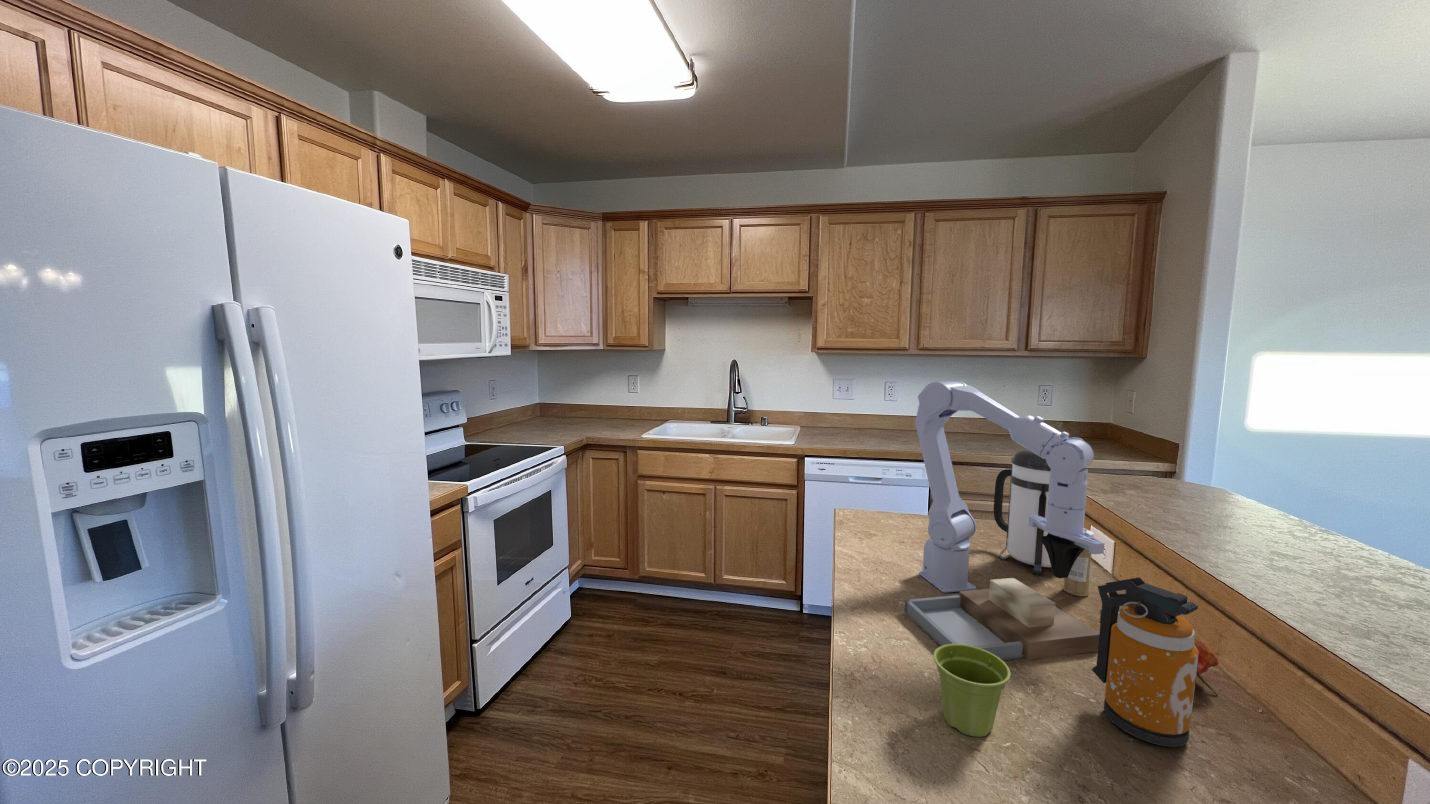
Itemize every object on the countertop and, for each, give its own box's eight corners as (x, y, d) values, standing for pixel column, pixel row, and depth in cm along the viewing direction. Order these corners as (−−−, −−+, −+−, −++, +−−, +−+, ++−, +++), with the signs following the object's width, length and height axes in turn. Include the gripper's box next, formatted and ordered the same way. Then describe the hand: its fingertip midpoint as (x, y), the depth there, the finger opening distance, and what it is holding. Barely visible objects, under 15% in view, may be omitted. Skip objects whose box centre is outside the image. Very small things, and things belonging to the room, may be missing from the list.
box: (904, 612, 101) (905, 599, 101) (957, 607, 103) (958, 595, 103) (960, 665, 85) (960, 650, 84) (1021, 657, 87) (1022, 643, 86)
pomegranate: (1215, 695, 81) (1159, 632, 87) (1254, 679, 76) (1191, 614, 82) (1182, 710, 79) (1127, 645, 85) (1220, 695, 74) (1159, 626, 80)
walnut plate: (958, 605, 104) (959, 591, 103) (1020, 599, 106) (1021, 585, 106) (1027, 659, 86) (1028, 642, 86) (1099, 650, 89) (1101, 634, 88)
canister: (1168, 761, 65) (1185, 610, 63) (1074, 706, 75) (1085, 574, 73) (1201, 736, 69) (1218, 593, 67) (1107, 687, 79) (1119, 561, 77)
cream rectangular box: (988, 599, 100) (990, 579, 100) (1011, 597, 101) (1013, 577, 101) (1028, 627, 90) (1030, 605, 90) (1053, 624, 91) (1055, 603, 91)
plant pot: (922, 695, 77) (925, 640, 76) (988, 700, 76) (992, 645, 75) (943, 744, 68) (946, 682, 67) (1019, 750, 67) (1023, 687, 66)
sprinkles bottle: (1092, 593, 109) (1098, 531, 107) (1082, 599, 106) (1088, 536, 105) (1068, 585, 113) (1073, 525, 111) (1058, 590, 110) (1063, 529, 109)
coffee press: (1071, 558, 127) (1081, 437, 123) (1074, 583, 113) (1086, 448, 110) (991, 543, 136) (998, 430, 133) (985, 565, 123) (993, 440, 119)
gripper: (1122, 516, 88) (1115, 592, 90) (1053, 492, 103) (1047, 558, 104) (1086, 519, 87) (1079, 596, 89) (1021, 494, 101) (1016, 561, 103)
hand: (1060, 576), depth 96 cm, fingers closed
